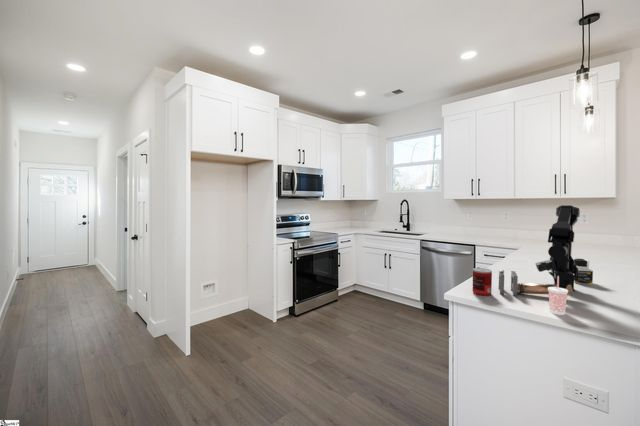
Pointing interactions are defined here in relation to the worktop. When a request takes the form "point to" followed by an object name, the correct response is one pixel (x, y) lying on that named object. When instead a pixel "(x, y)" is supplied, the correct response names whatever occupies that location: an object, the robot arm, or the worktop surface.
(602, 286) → the worktop surface
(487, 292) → the canned food
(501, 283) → the collar
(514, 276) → the collar
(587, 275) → the medicine bottle
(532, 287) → the brown wooden rod
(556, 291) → the beverage cup
